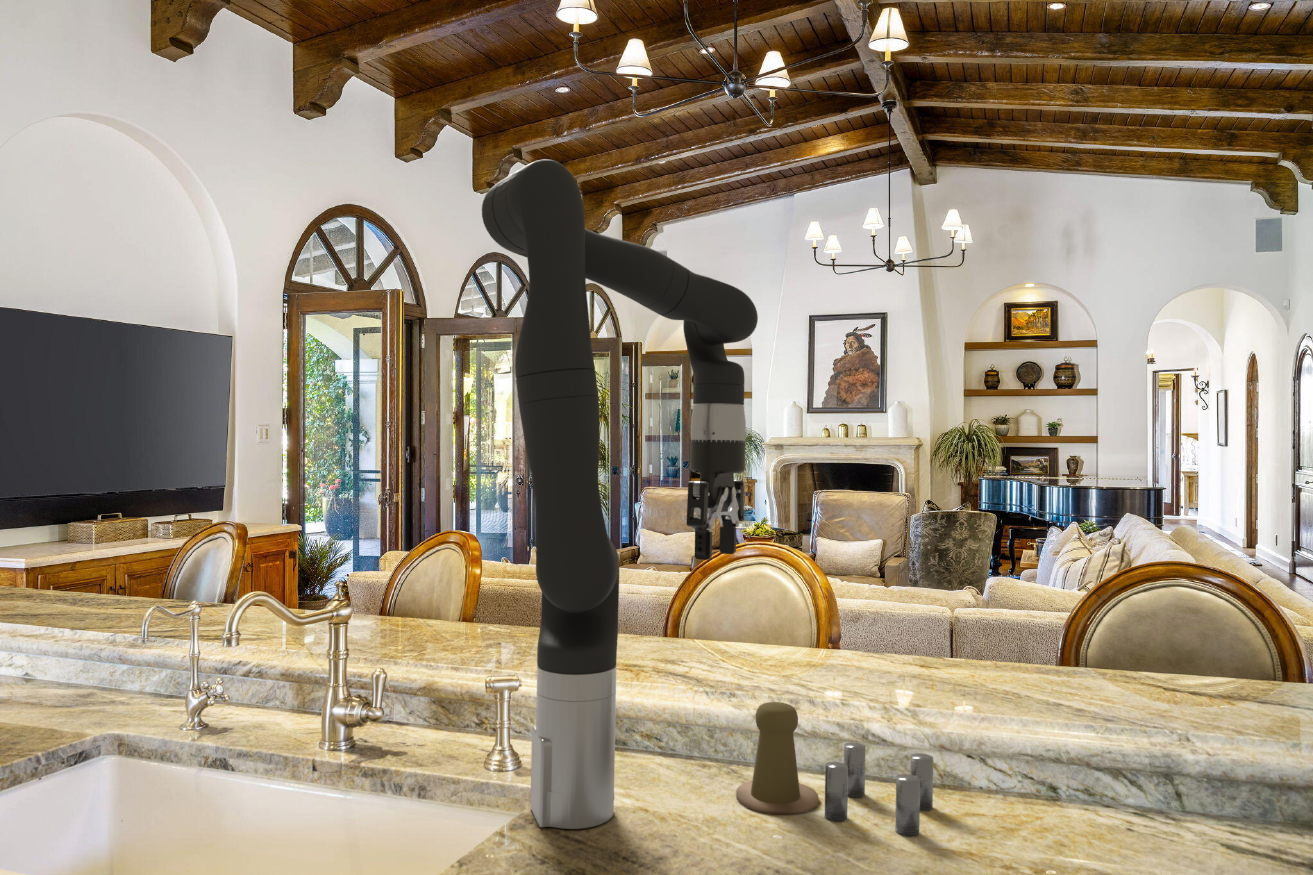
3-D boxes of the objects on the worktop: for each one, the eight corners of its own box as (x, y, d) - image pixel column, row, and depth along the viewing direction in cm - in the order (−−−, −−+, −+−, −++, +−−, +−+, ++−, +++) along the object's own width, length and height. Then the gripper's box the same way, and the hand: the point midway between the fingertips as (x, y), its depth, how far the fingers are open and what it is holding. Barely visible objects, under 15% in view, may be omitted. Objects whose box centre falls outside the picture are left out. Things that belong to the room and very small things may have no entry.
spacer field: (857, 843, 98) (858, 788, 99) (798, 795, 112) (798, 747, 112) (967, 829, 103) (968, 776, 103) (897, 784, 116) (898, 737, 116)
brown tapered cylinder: (798, 806, 107) (799, 713, 107) (747, 800, 109) (749, 708, 109) (802, 787, 113) (803, 699, 113) (753, 783, 114) (755, 695, 115)
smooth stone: (756, 819, 105) (756, 813, 105) (723, 787, 114) (723, 783, 114) (833, 809, 108) (833, 804, 108) (795, 780, 117) (795, 775, 117)
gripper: (723, 437, 116) (720, 563, 116) (761, 439, 129) (760, 553, 128) (670, 436, 119) (668, 559, 119) (713, 438, 132) (711, 550, 132)
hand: (715, 556), depth 124 cm, fingers open, 8 cm apart
